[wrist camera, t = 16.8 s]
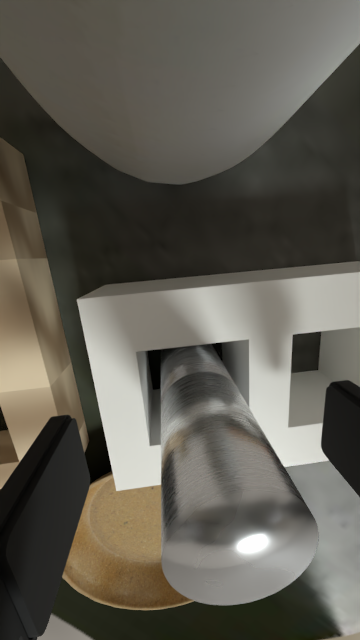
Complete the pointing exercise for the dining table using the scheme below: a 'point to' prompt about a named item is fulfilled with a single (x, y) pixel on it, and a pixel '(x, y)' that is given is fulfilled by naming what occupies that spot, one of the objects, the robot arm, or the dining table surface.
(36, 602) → the robot arm
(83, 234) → the dining table surface
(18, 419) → the socket block
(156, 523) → the plant saucer
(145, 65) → the glass bottle
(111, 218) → the dining table surface
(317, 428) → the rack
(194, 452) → the clear glass vial
